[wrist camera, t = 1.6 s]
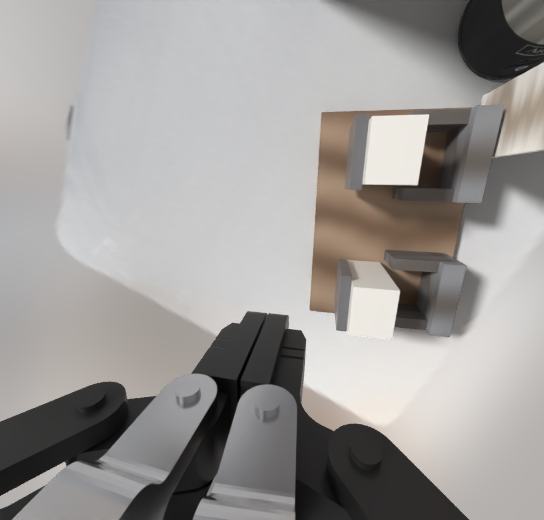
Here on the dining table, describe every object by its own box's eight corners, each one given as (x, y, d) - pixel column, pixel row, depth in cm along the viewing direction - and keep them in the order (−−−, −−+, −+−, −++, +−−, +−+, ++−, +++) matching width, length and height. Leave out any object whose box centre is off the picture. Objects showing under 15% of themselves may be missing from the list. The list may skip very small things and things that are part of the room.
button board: (322, 104, 29) (321, 61, 19) (485, 98, 26) (590, 43, 16) (310, 307, 36) (304, 356, 26) (438, 319, 34) (489, 379, 23)
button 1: (337, 255, 32) (342, 280, 24) (380, 258, 32) (401, 285, 23) (333, 299, 34) (337, 338, 26) (373, 303, 33) (391, 344, 25)
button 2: (348, 131, 28) (359, 109, 20) (397, 130, 28) (430, 106, 19) (343, 188, 30) (351, 190, 22) (389, 189, 29) (416, 191, 21)
